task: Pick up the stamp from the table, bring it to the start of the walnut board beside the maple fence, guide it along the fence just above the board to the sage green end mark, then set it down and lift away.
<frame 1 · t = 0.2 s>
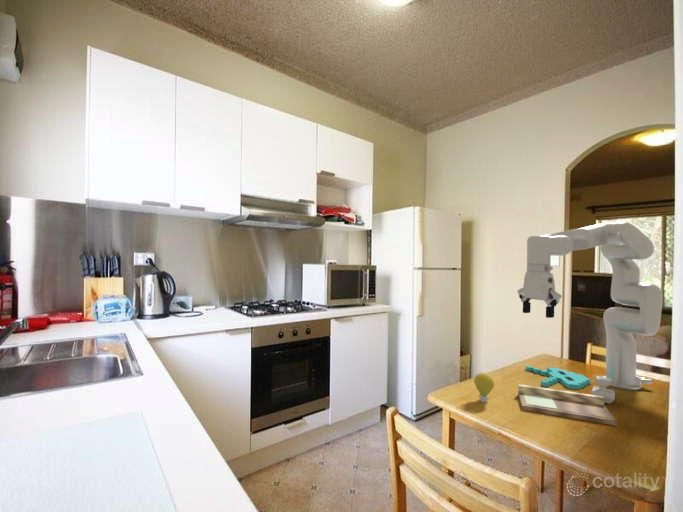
hand: (537, 315, 122), 31 cm above the table, tool pointing down, fingers open, 9 cm apart
light bulb: (483, 401, 119), on the table
stamp: (602, 401, 120), on the table
end mark: (539, 400, 116), resting on walnut board
teal pixel sprite: (559, 380, 140), on the table
walnut board: (562, 408, 113), on the table
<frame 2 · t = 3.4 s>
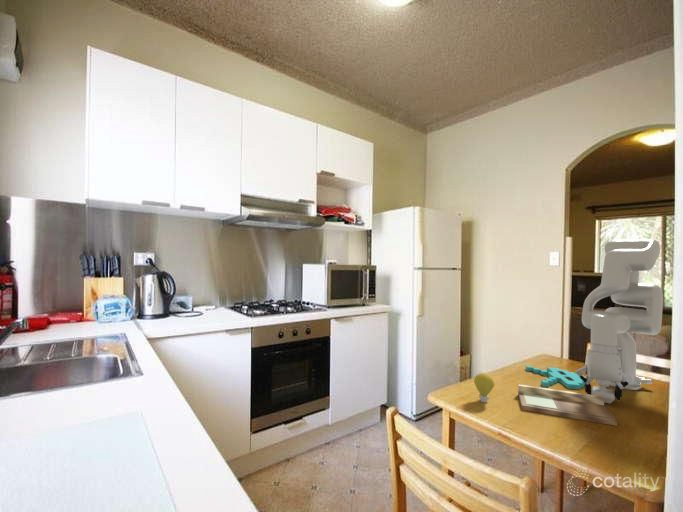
hand: (602, 396, 119), 2 cm above the table, tool pointing down, fingers closed on stamp, 8 cm apart
stamp: (602, 401, 120), on the table, touching gripper
everything else where it was.
when the fingers open (4 cm above the table, at t = 13.0 s): stamp stays where it is, resting on end mark.
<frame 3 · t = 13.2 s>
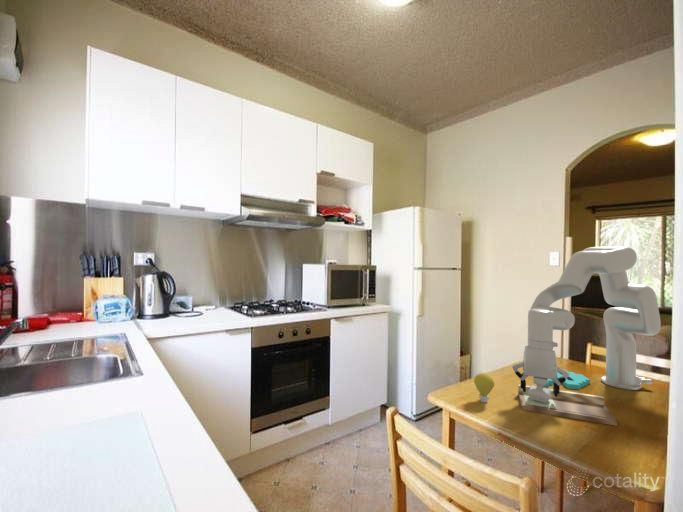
hand: (539, 392, 116), 4 cm above the table, tool pointing down, fingers open, 9 cm apart
stamp: (539, 400, 116), point 1 cm above the table, touching end mark
everything else where it was.
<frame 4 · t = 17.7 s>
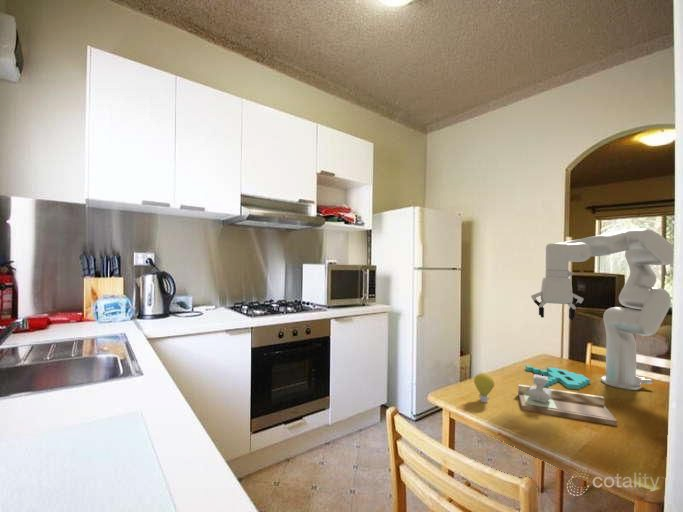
hand: (556, 318, 129), 28 cm above the table, tool pointing down, fingers open, 9 cm apart
nothing on the table moved.
at the end: stamp inside the target area (0.5 cm from its centre), point 1.4 cm above the table; stamp tilted 0°; the gripper is holding nothing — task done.
